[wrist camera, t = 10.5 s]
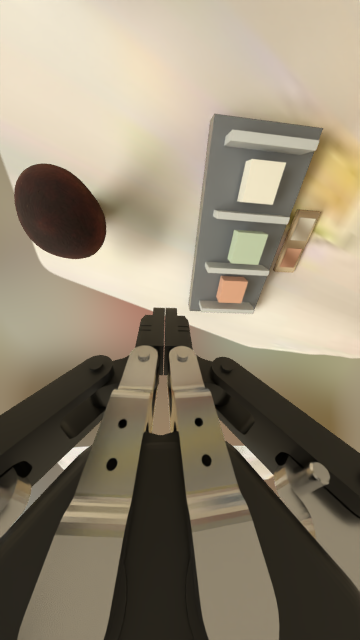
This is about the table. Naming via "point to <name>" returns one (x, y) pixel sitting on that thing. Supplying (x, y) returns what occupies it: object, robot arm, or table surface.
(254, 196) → the key ivory
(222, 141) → the grey shelf board
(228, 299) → the orange cube
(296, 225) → the strip
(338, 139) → the table surface
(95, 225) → the decorative mushroom
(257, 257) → the key sage
